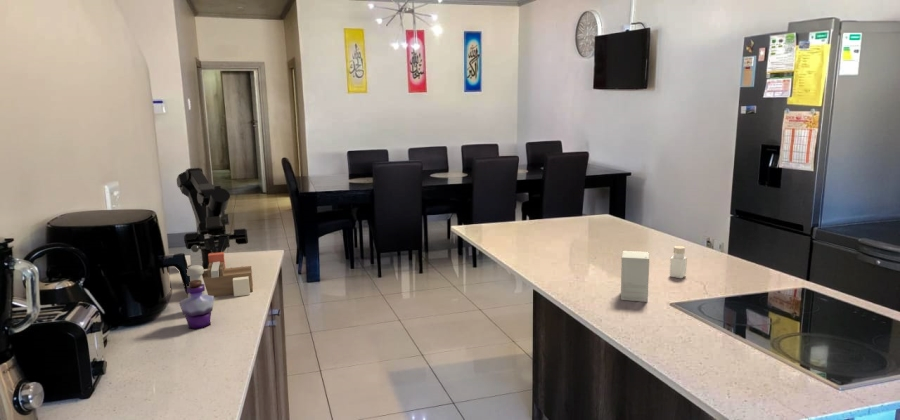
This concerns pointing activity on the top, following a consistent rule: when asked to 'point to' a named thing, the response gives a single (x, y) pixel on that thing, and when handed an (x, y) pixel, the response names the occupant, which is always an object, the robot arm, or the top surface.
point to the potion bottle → (197, 306)
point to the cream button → (241, 286)
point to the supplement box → (635, 276)
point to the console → (225, 279)
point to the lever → (196, 256)
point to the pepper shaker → (678, 263)
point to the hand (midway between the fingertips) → (217, 261)
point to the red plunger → (216, 263)
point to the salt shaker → (196, 275)
